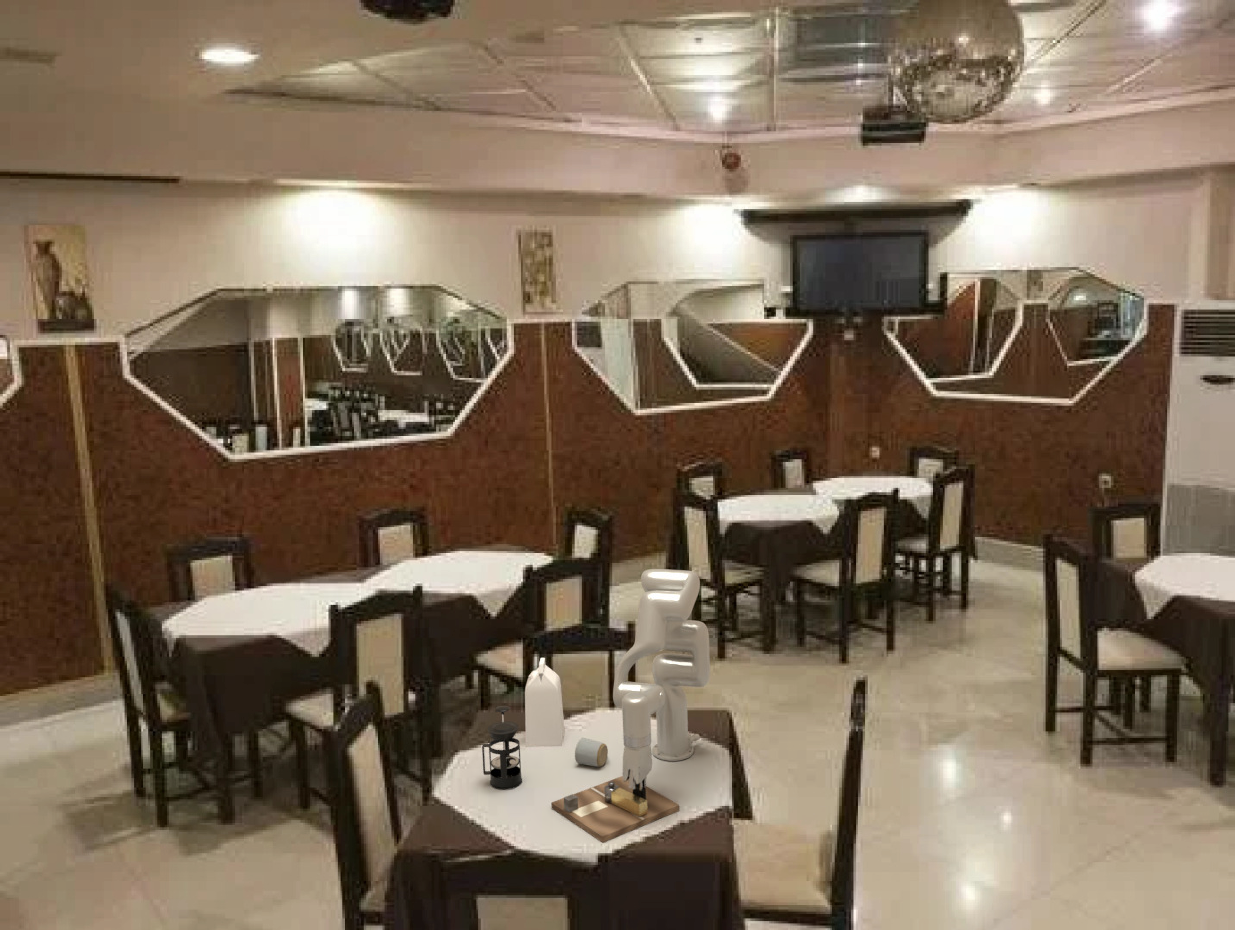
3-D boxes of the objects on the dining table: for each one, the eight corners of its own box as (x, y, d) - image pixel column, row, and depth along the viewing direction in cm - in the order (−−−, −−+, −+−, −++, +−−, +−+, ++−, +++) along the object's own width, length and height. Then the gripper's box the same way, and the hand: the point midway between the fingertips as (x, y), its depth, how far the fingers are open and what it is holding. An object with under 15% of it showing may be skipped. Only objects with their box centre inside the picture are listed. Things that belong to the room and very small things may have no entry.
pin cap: (612, 784, 282) (612, 780, 282) (616, 786, 281) (616, 782, 281) (606, 786, 281) (606, 782, 281) (610, 788, 280) (610, 784, 280)
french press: (525, 774, 303) (522, 700, 299) (523, 789, 294) (519, 713, 290) (486, 775, 303) (482, 702, 299) (482, 790, 294) (478, 714, 290)
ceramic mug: (599, 771, 303) (598, 746, 302) (574, 767, 306) (573, 743, 305) (613, 757, 313) (613, 733, 312) (589, 753, 316) (588, 729, 315)
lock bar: (601, 799, 282) (601, 787, 281) (612, 794, 285) (612, 782, 284) (638, 817, 271) (637, 805, 271) (648, 811, 274) (648, 799, 274)
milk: (562, 745, 322) (558, 667, 318) (525, 746, 322) (522, 668, 318) (564, 730, 334) (561, 654, 330) (529, 731, 334) (525, 655, 330)
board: (626, 779, 297) (625, 763, 297) (679, 810, 278) (679, 792, 278) (551, 807, 282) (550, 790, 281) (602, 842, 263) (602, 823, 262)
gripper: (635, 725, 284) (638, 786, 287) (612, 747, 271) (615, 811, 274) (660, 729, 281) (662, 791, 284) (638, 752, 268) (641, 817, 271)
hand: (639, 801), depth 279 cm, fingers closed
